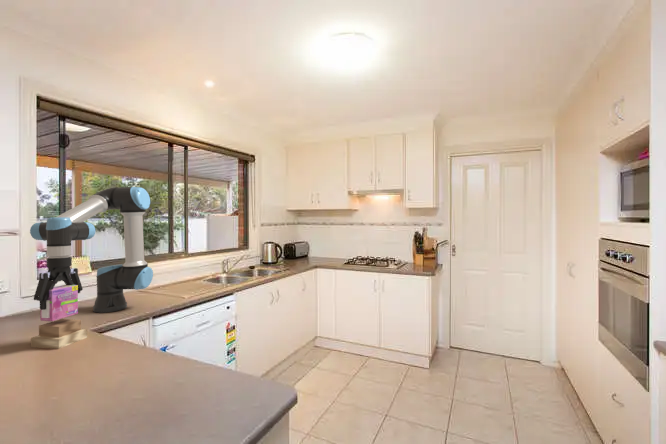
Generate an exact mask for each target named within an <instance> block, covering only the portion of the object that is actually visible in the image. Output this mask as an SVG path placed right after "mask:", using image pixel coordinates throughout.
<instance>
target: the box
mask: <svg viewBox="0 0 666 444" xmlns="http://www.w3.org/2000/svg"><path fill="white" fill-rule="evenodd" d="M47 300H50V318H41V310H40V309H39V310H40V313H39V314H40V321H41V322H53V321H56V320H59V319H66V318H68V317H72V316H76V315H78V314H79V293H78V285H66V284H64V285H59V286H54V288H53V289H52V290H49V297H48V299H47Z"/></svg>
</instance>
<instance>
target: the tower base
mask: <svg viewBox="0 0 666 444" xmlns="http://www.w3.org/2000/svg"><path fill="white" fill-rule="evenodd" d="M87 338H88V328H81V330H79V331H76V332H74V333H71V334H68V335H65V336H62V337H59V338H57V337H44V336H39V334H38V335H35V336H33V337H31V338H30V348H35V349H36V348H37V349H38V348H39V349H57V350H59V349H62V348H65V347H66V346H69V345H72V344H74V343H77V342H80V341H82V340H85V339H87Z"/></svg>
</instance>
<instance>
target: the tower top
mask: <svg viewBox="0 0 666 444" xmlns="http://www.w3.org/2000/svg"><path fill="white" fill-rule="evenodd" d="M81 329H82V319H73V318H72V319H71V318H62V319H58V320H55V321H48V322H47V323H43V324H40V325H38V335H39V336H44V337H57V338H59V337H62V336H65V335H68V334H71V333H74V332H76V331H79V330H81Z"/></svg>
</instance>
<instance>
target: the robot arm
mask: <svg viewBox="0 0 666 444" xmlns="http://www.w3.org/2000/svg"><path fill="white" fill-rule="evenodd" d="M150 205H151V198H150V194H149V192H148V191H147V189H145V188H143V187H139V186H128V187H127V186H123V187H122V186H121V187H120V186H118V187H117V186H113V187H109V188H108V187H107V188H105V189H103V190H100V191H98V192H96V193H94V194H92V195H90V196H89V197H88V198H87V200H85V201H84V202H82V203H80V204H78V205H76V206H75V207H73V208H70V209H69V210H67V211H64V212H63V213H61V214H59V215H58V216H55V217H48V218H47V219H46V221H45V222H44V221H41V222H36V223H35V222H34V223H33V224H32V225H31V227H30V229H29V233H30V236H31V238H33V239H34V240H36V241H44V242H46V257H48V258H47V259H46V268H47V269H48V270H47V272H40V273H39V274H38V279H39V280H38V283H37V286H36V289H35V292H34V296H33V300H34V301H37V302H39V310H41V317H40V319H41V318H50V300H47V299H48V297H49V290H52V289H53V288H54V287H56V286H55V285H56V284H58V282H61V281H62V282H64V285H78V294H81V291H83V286H82V283H81V279H80V276H79V269H78V268H77V267H73V268H72V267H71V266H72V261H73V259H72V257H71V256H72V255H73V253H72V242H73V241H86V240H90V239H93V238H94V236H95V235H96V227H95V225H94V224H93V223H91V222H86V221H88V220H90V219H92V218H93V217H95V216H96V215H98V214H100V213H104V212H107V211H110V210H119V214H120V215H122V216H123V231H124V233H123V234H124V235H123V237H124V254H125V256H124V258H125V261H124V263H121V264H120V263H119V264H114V265H113V264H112V265H107V266H102V267H101V266H100V267H99V268H97V270H96V298H95V301H94V303H93V305H92V306H93V307H92V312H94V313H97V314H98V313H99V314H101V313H112V312H119V311H121V310H125V309H127V308H128V302H127V301H126V297H125V294H124V290H134V291H136V290H137V291H138V290H145V289H148V287H149V286H150V285H151V283H152V281H153V277H154V271H153V269H152V268H151V267H150V266H148V265H149V264H148V262H147V261H146V260H145V247H144V246H145V244H144V241H145V240H144V222H143V217H144V215H145V214H146V213H147V212H146V210H148V209H149V208H150Z"/></svg>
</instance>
